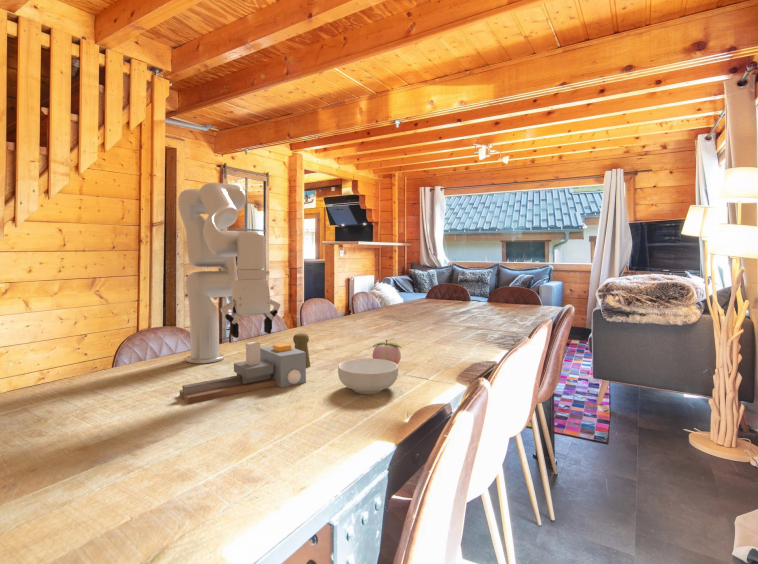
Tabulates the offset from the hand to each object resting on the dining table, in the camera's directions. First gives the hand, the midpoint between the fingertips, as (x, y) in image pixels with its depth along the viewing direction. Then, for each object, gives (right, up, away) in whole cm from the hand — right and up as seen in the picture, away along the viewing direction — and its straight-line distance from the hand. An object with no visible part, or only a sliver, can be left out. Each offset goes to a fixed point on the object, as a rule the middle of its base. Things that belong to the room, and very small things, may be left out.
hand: (251, 334), depth 123 cm
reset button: (+7, -8, +6) cm, 12 cm away
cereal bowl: (+33, -15, -3) cm, 37 cm away
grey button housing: (+7, -14, +6) cm, 17 cm away
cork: (+10, -13, +22) cm, 27 cm away
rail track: (-5, -15, -4) cm, 16 cm away
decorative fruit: (+39, -14, +17) cm, 44 cm away
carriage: (0, -13, 0) cm, 13 cm away
